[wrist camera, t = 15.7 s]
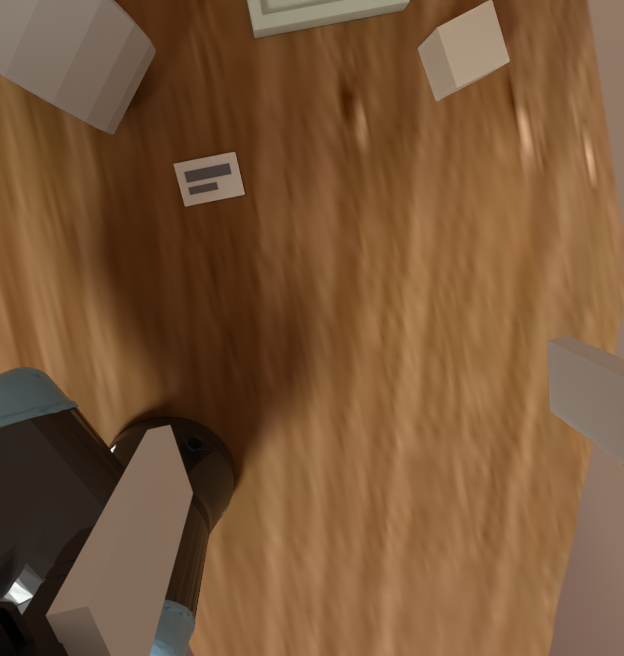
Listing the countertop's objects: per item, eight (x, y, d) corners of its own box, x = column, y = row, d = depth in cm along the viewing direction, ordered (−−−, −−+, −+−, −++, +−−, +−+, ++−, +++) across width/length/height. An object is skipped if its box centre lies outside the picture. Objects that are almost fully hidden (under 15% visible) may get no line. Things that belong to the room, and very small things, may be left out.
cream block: (435, 101, 41) (457, 88, 37) (417, 48, 40) (437, 27, 35) (482, 78, 41) (509, 61, 36) (465, 23, 40) (491, -2, 35)
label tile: (185, 206, 42) (184, 206, 41) (173, 164, 41) (173, 163, 40) (245, 194, 42) (244, 194, 42) (235, 152, 41) (234, 151, 40)
